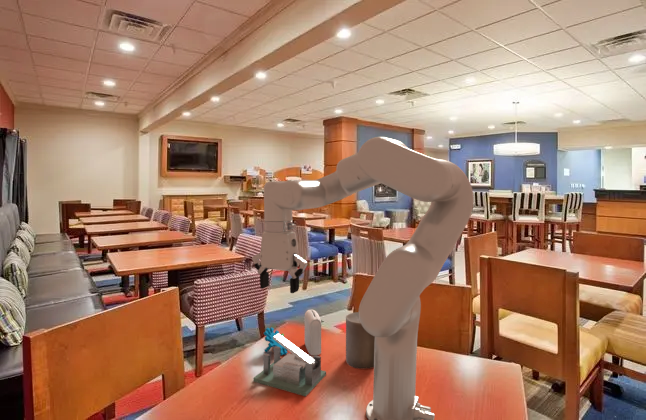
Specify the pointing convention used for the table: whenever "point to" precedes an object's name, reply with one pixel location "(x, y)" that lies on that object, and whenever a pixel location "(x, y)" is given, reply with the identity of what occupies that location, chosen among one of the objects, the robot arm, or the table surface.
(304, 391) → the board
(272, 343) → the gear
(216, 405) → the table surface
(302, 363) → the grey block frame
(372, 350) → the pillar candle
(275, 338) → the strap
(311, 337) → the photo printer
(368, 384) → the table surface
